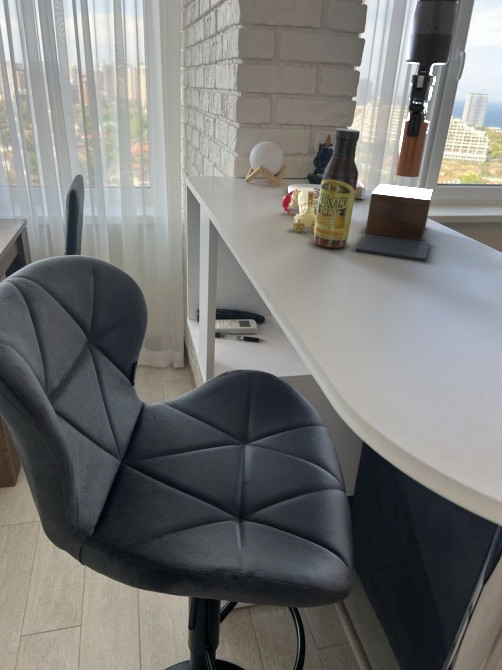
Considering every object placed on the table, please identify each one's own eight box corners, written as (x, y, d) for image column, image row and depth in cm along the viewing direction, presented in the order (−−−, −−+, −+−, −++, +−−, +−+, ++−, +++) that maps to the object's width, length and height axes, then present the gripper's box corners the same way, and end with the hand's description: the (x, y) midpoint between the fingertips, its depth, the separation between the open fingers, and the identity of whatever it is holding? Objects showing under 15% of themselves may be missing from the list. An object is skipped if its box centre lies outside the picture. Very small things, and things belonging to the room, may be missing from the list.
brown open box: (425, 227, 109) (432, 189, 105) (421, 241, 99) (430, 199, 95) (373, 221, 112) (379, 184, 109) (365, 233, 102) (371, 193, 98)
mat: (428, 245, 96) (429, 243, 96) (425, 261, 87) (425, 258, 87) (365, 236, 100) (366, 234, 100) (356, 251, 90) (356, 248, 90)
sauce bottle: (307, 245, 92) (319, 128, 83) (319, 238, 97) (332, 126, 88) (342, 252, 89) (358, 131, 81) (352, 244, 94) (369, 130, 86)
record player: (366, 188, 131) (289, 184, 131) (364, 200, 132) (288, 196, 133) (359, 180, 141) (288, 177, 142) (358, 192, 143) (287, 188, 143)
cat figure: (331, 239, 101) (322, 203, 122) (337, 196, 96) (326, 166, 118) (281, 236, 101) (281, 200, 122) (285, 193, 96) (284, 163, 118)
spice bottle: (420, 174, 102) (432, 109, 96) (418, 178, 98) (430, 110, 92) (395, 172, 103) (406, 108, 98) (393, 175, 99) (403, 108, 94)
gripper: (453, 29, 83) (432, 140, 90) (454, 37, 95) (435, 134, 102) (405, 28, 85) (389, 137, 92) (412, 37, 97) (397, 132, 104)
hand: (413, 135), depth 97 cm, fingers closed on spice bottle, 4 cm apart
